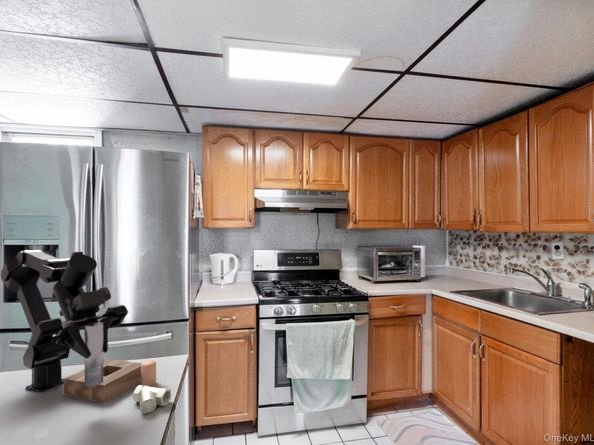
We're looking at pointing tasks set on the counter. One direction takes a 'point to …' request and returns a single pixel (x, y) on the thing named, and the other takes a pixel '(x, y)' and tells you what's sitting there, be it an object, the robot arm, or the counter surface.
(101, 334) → the tall metal pin
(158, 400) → the pipe fitting
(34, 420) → the counter surface
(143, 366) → the short terracotta pin
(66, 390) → the walnut block
